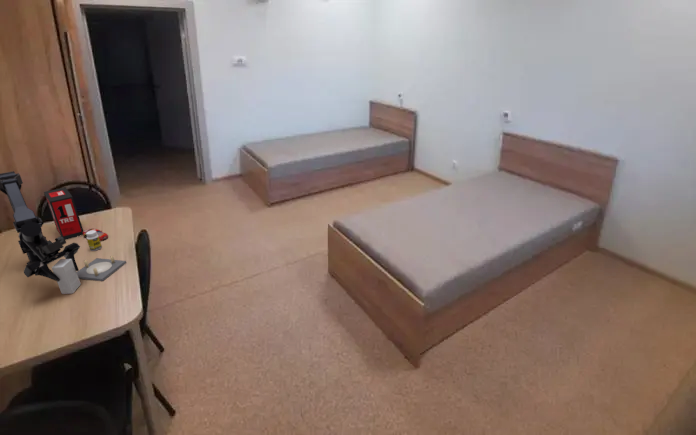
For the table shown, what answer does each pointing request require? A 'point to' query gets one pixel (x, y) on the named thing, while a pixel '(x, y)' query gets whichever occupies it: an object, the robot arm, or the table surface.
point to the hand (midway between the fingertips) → (68, 275)
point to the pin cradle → (99, 269)
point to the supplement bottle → (93, 240)
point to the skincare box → (66, 276)
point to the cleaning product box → (64, 213)
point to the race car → (101, 234)
